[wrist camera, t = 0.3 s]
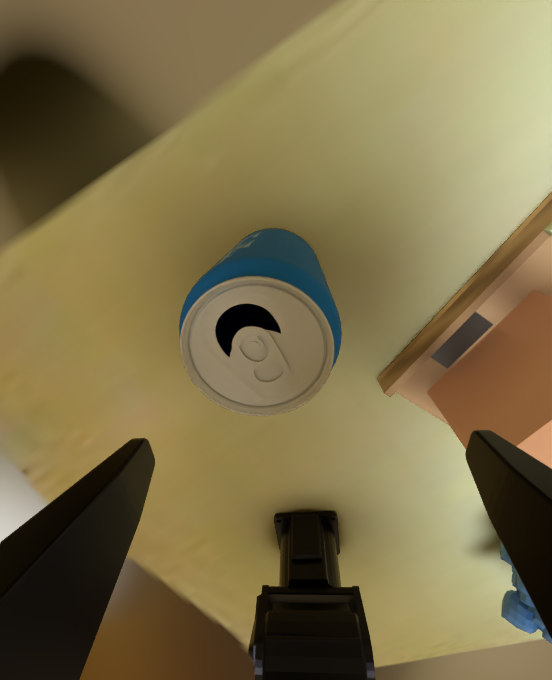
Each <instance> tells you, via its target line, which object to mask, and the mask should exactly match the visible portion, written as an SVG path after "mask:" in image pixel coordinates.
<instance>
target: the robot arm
mask: <svg viewBox="0 0 552 680" xmlns="http://www.w3.org/2000/svg"><path fill="white" fill-rule="evenodd" d="M466 460H467V463H468V465H469V468H470V470H471V473H472V476H473V478H474V481H475V483H476V486H477V488H478V491H479V493H480V496H481V498H482V501H483V503H484V506H485V509H486V511H487V513H488V516H489V518H490V520H491V522H492V524H493V526H494V528H495V530H496V532H497V534H498V536H499V538H500V540H501V542H502V544H503V546H504V548H505V550H506V552H507V553H508V555H509V557H510V559H511V561H512V563H513V565H514V567H515V569H516V571H517V573H518V575H519V577H520V579H521V581H522V583H523V585H524V587H525V588H526V590H527V592H528V594H529V596H530V598H531V600H532V602H533V604H534V606H535V608H536V610H537V612H538V614H539V616H540V618H541V620H542V622H543V624H544V625H545V627H546V629H547V631H548V633H549V635H550V637H551V639H552V469H551V468H550V467H548V466H547V465H545V464H543V463H542V462H540V461H539V460H537V459H536V458H534V457H532V456H531V455H529V454H528V453H526V452H524V451H523V450H521V449H520V448H518V447H516V446H515V445H513V444H512V443H510V442H509V441H507V440H505V439H504V438H502V437H501V436H499V435H497V434H496V433H494V432H492V431H490V430H474V431H473V432H472V433H471V435H470V439H469V442H468V445H467V449H466ZM154 466H155V458H154V455H153V452H152V449H151V446H150V444H149V441H148V440H147V439H145V438H134V439H131V440H130V441H128V442H127V443H126V444H125V445H123V446H122V447H121V448H119V449H118V450H117V451H116V452H114V453H113V454H112V455H111V456H109V457H108V458H107V459H106V460H104V461H103V462H102V463H100V464H99V465H98V466H97V467H95V468H94V469H93V470H92V471H90V472H89V473H88V474H86V475H85V476H84V477H83V478H81V479H80V480H79V481H78V482H76V483H75V484H74V485H73V486H71V487H70V488H69V489H67V490H66V491H65V492H64V493H62V494H61V495H60V496H59V497H57V498H56V499H55V500H53V501H52V502H51V503H50V504H48V505H47V506H46V507H45V508H43V509H42V510H41V511H39V512H38V513H37V514H36V515H35V516H33V517H32V518H31V519H29V520H28V521H27V522H26V523H24V524H23V525H22V526H20V527H19V528H18V529H17V530H15V531H14V532H13V533H12V534H10V535H9V536H8V537H6V538H5V539H4V540H3V541H2V542H1V543H0V680H79V679H80V676H81V674H82V671H83V669H84V666H85V663H86V661H87V658H88V656H89V653H90V650H91V648H92V645H93V642H94V640H95V637H96V634H97V632H98V629H99V626H100V623H101V621H102V619H103V616H104V613H105V611H106V608H107V605H108V603H109V600H110V598H111V595H112V592H113V590H114V587H115V584H116V582H117V579H118V576H119V574H120V571H121V569H122V566H123V563H124V561H125V558H126V555H127V553H128V550H129V548H130V545H131V542H132V540H133V537H134V534H135V532H136V529H137V526H138V524H139V521H140V518H141V514H142V511H143V507H144V504H145V500H146V496H147V492H148V489H149V485H150V481H151V478H152V474H153V470H154ZM274 523H275V528H276V534H277V539H278V544H279V549H280V582H279V587H276V586H269V585H263V586H262V594H261V595H259V596H257V603H256V614H255V621H254V626H253V630H252V635H251V640H250V644H249V657H250V659H251V661H252V662H253V664H254V671H255V680H375V670H374V660H373V652H372V646H371V640H370V635H369V630H368V626H367V621H366V617H365V613H364V608H363V604H362V599H361V595H360V590H359V586H352V587H341V581H340V573H339V565H338V557H337V555H338V554H339V553H340V548H339V533H338V519H337V514H336V513H335V512H320V513H297V514H277V515H275V516H274Z"/></svg>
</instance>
